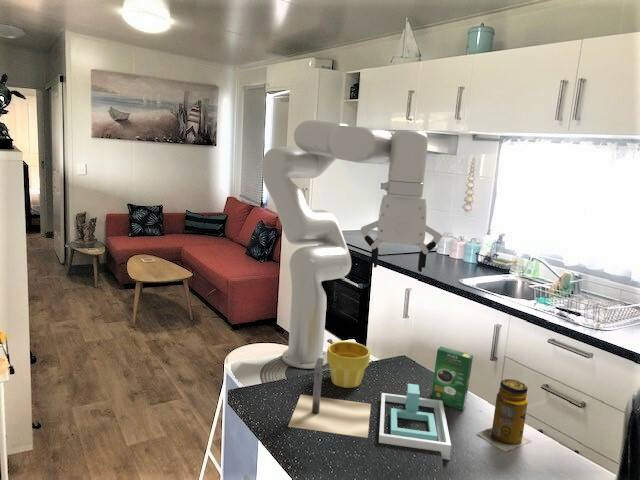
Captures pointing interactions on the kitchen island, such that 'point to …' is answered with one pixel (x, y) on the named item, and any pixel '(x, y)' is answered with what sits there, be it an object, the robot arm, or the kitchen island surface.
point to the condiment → (508, 416)
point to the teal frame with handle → (413, 417)
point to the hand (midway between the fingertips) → (397, 268)
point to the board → (332, 416)
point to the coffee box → (451, 377)
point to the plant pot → (347, 363)
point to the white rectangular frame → (440, 445)
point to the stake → (317, 386)
